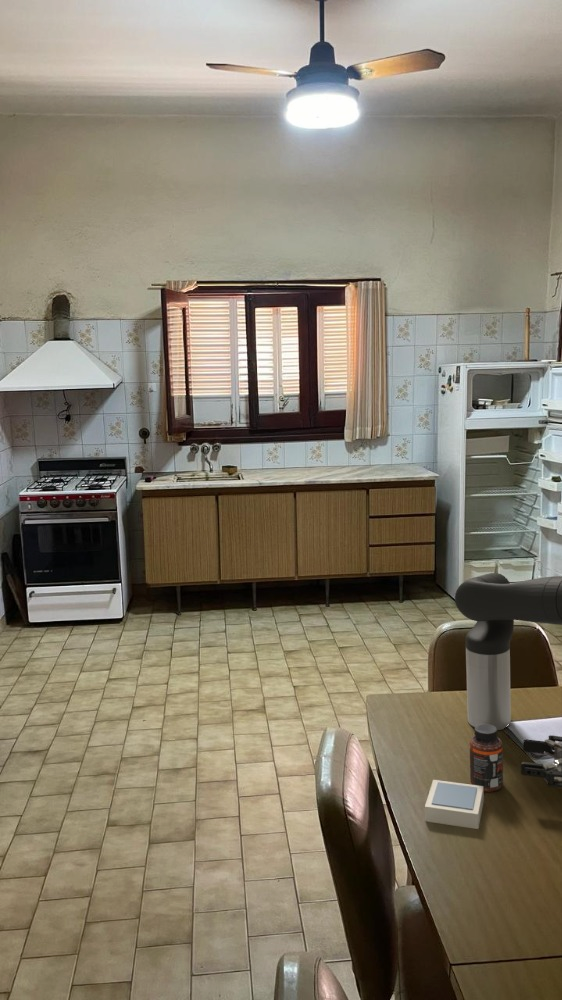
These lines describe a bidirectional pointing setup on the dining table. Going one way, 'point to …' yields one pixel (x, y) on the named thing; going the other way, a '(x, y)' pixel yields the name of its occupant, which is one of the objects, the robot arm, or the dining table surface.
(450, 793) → the plinth
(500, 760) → the supplement bottle
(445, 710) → the dining table surface
